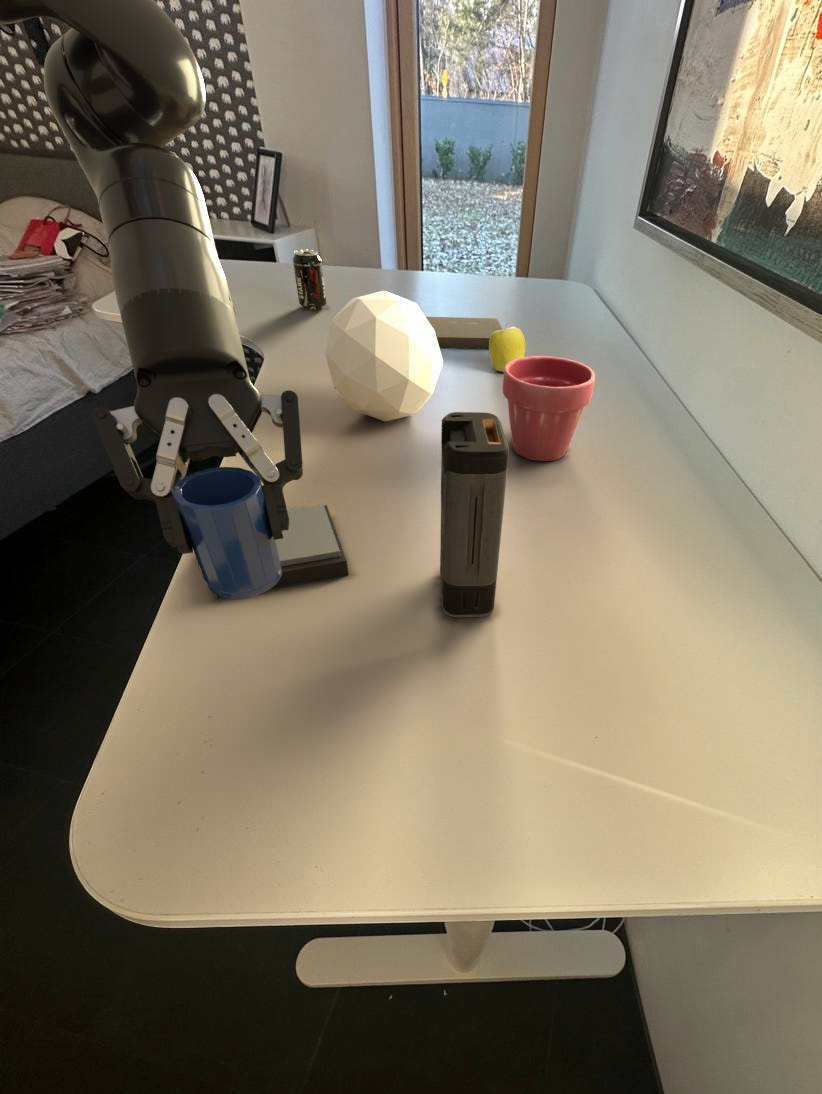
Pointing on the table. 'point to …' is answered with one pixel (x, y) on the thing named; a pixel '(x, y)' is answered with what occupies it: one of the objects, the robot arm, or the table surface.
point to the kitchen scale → (309, 548)
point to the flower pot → (545, 403)
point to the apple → (506, 347)
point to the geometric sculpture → (383, 356)
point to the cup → (229, 531)
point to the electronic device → (471, 511)
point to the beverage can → (309, 279)
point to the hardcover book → (464, 331)
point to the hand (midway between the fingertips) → (233, 543)
